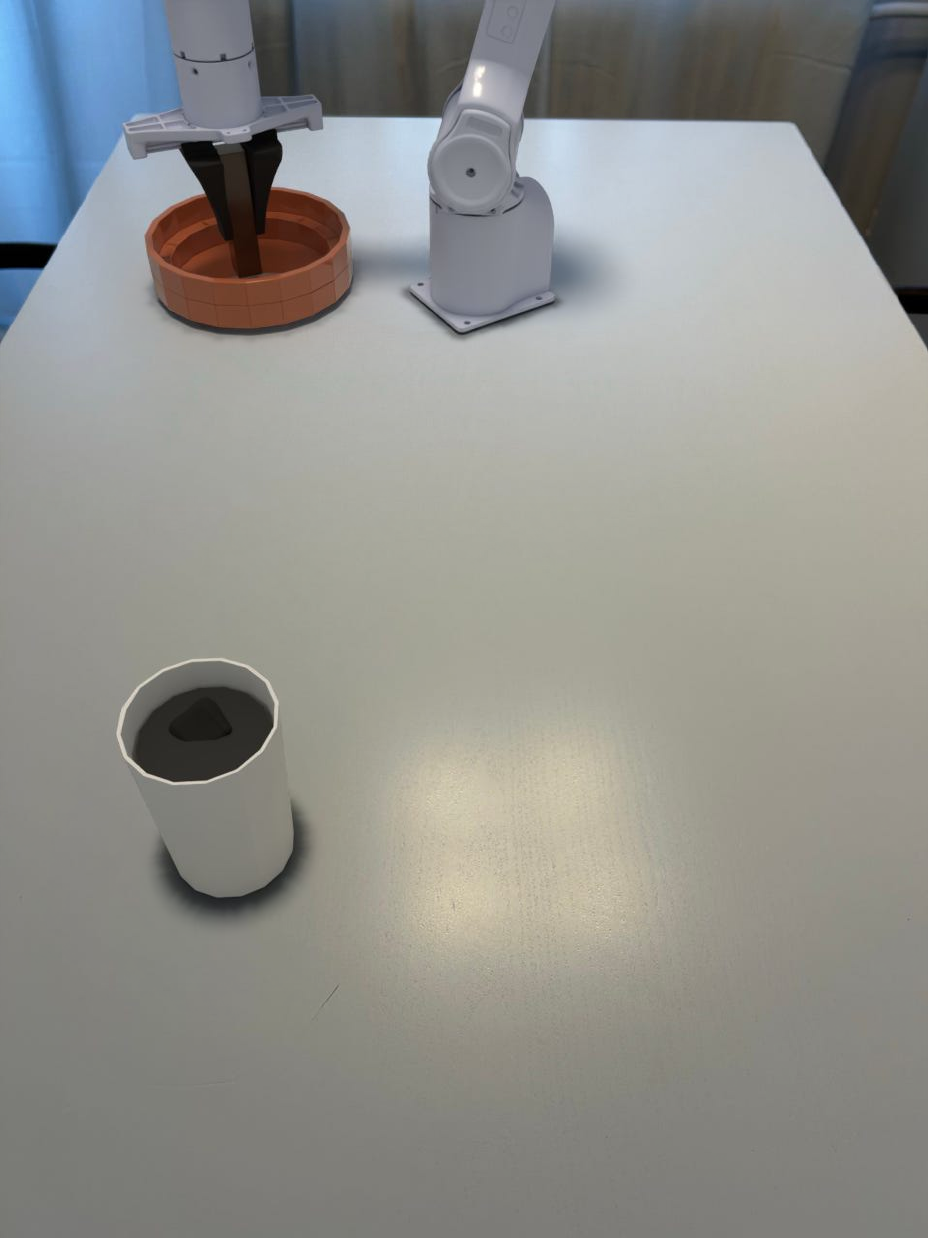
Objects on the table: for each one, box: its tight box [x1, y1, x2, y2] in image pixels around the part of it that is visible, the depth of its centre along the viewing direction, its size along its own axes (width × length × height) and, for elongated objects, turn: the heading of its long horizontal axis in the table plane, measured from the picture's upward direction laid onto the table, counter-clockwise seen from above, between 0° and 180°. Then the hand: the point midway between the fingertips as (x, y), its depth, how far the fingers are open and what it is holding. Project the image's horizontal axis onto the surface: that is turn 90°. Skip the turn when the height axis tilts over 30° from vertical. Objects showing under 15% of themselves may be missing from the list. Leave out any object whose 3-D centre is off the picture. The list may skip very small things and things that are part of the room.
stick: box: [213, 143, 263, 278], centre depth 82 cm, size 2×2×10 cm
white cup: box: [115, 657, 295, 898], centre depth 46 cm, size 7×7×10 cm
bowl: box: [144, 186, 354, 329], centre depth 85 cm, size 16×16×4 cm
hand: (241, 231), depth 83 cm, fingers closed on stick, 2 cm apart
